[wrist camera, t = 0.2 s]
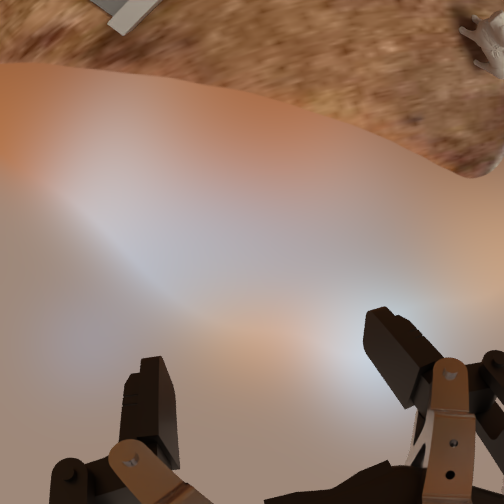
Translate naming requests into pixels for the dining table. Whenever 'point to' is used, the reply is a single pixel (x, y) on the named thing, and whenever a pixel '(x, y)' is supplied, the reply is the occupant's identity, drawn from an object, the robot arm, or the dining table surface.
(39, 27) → the dining table surface
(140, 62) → the dining table surface
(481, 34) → the dog figurine
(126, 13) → the rail plate
